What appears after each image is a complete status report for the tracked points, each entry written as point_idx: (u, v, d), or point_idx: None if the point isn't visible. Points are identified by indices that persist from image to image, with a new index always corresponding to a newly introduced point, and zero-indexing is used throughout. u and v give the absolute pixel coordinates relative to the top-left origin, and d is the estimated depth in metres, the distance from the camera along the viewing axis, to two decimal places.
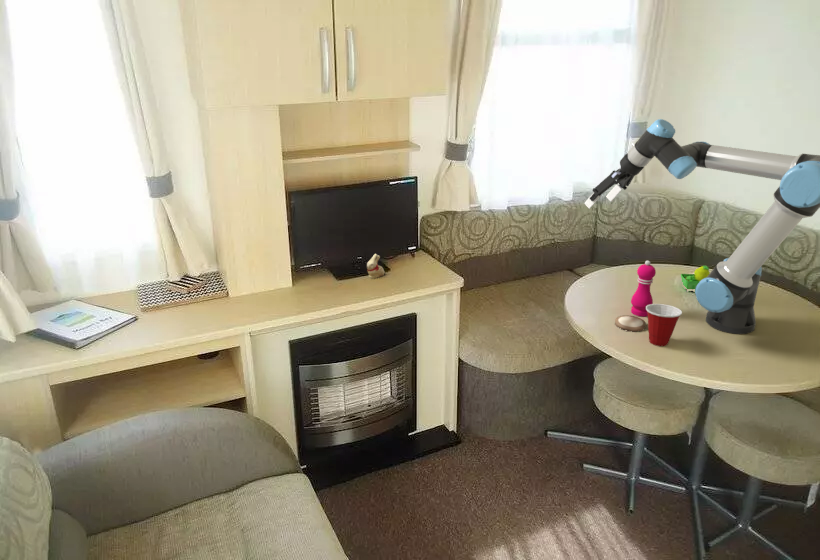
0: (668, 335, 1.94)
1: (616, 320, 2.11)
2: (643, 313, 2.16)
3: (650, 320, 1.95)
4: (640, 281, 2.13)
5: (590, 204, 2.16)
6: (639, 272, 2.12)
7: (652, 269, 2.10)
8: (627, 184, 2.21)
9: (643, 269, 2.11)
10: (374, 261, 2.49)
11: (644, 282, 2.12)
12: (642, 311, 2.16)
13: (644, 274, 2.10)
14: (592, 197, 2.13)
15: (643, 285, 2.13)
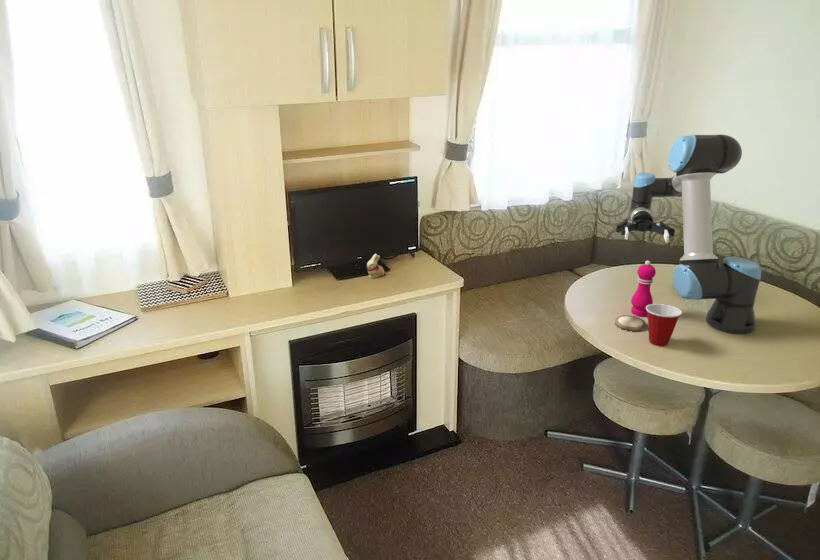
0: (668, 335, 1.94)
1: (616, 320, 2.11)
2: (643, 313, 2.16)
3: (650, 320, 1.95)
4: (640, 281, 2.13)
5: (625, 232, 2.21)
6: (639, 272, 2.12)
7: (652, 269, 2.10)
8: (670, 229, 2.23)
9: (643, 269, 2.11)
10: (374, 261, 2.49)
11: (644, 282, 2.12)
12: (642, 311, 2.16)
13: (644, 274, 2.10)
14: (621, 231, 2.24)
15: (643, 285, 2.13)
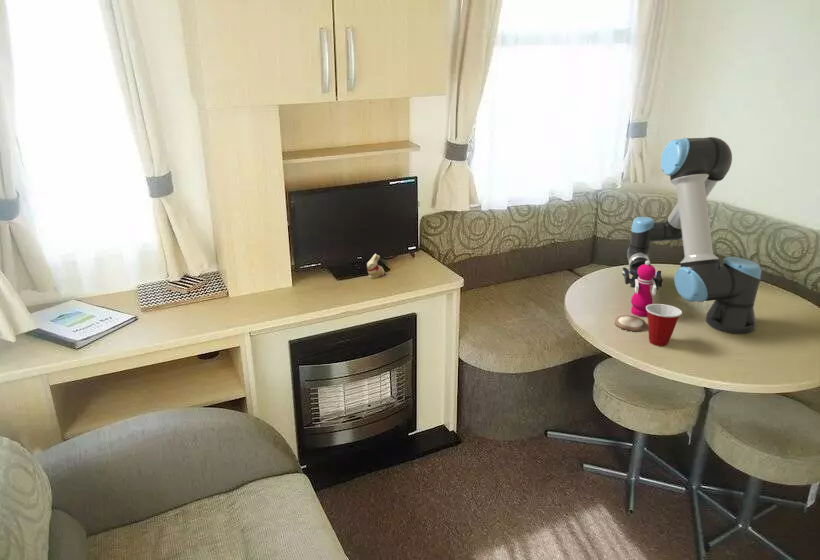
0: (668, 335, 1.94)
1: (616, 320, 2.11)
2: (643, 313, 2.16)
3: (650, 320, 1.95)
4: (640, 281, 2.13)
5: (635, 285, 2.12)
6: (639, 272, 2.12)
7: (652, 269, 2.10)
8: (658, 279, 2.16)
9: (643, 269, 2.11)
10: (374, 261, 2.49)
11: (644, 282, 2.12)
12: (642, 311, 2.16)
13: (644, 274, 2.10)
14: (631, 284, 2.15)
15: (643, 285, 2.13)
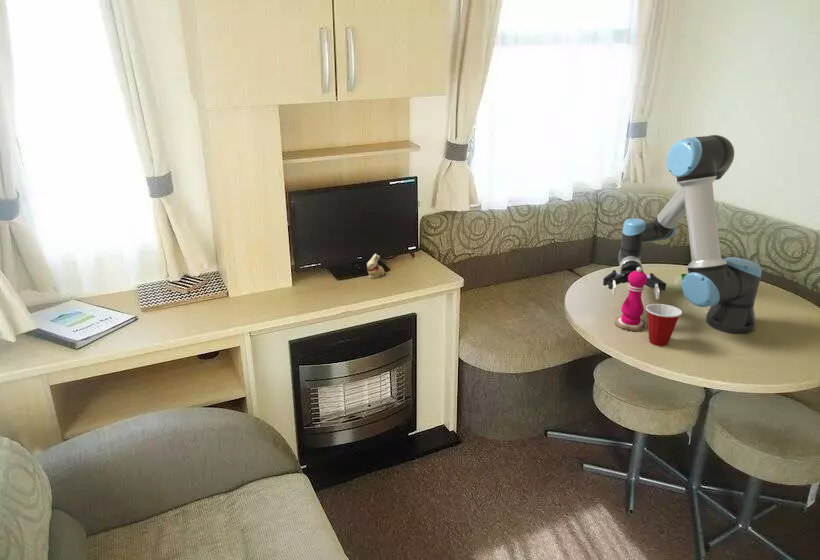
0: (668, 335, 1.94)
1: (616, 320, 2.11)
2: (633, 322, 2.07)
3: (650, 320, 1.95)
4: (631, 288, 2.04)
5: (613, 287, 2.05)
6: (630, 279, 2.03)
7: (644, 276, 2.01)
8: (661, 283, 2.07)
9: (634, 275, 2.02)
10: (374, 261, 2.49)
11: (635, 289, 2.03)
12: (633, 320, 2.07)
13: (635, 281, 2.01)
14: (609, 285, 2.09)
15: (634, 292, 2.04)
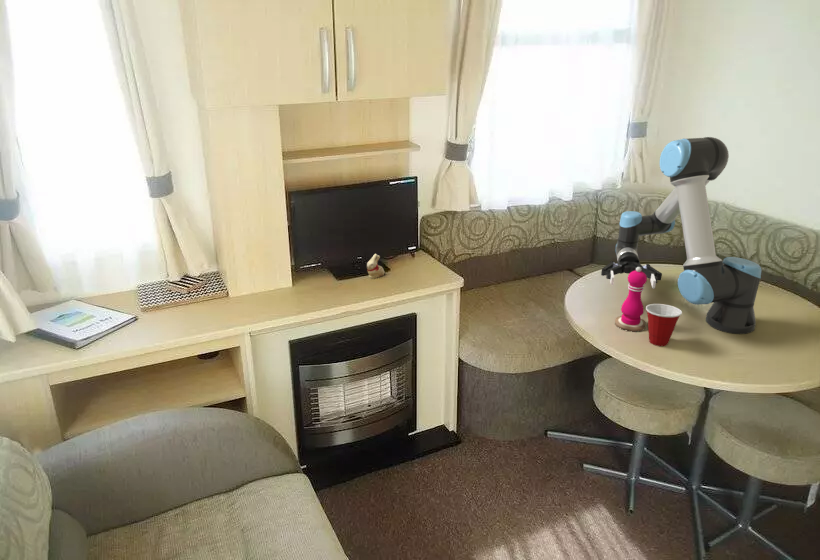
0: (668, 335, 1.94)
1: (616, 320, 2.11)
2: (633, 321, 2.07)
3: (650, 320, 1.95)
4: (630, 288, 2.04)
5: (611, 277, 2.13)
6: (629, 279, 2.03)
7: (643, 276, 2.01)
8: (657, 273, 2.15)
9: (634, 275, 2.02)
10: (374, 261, 2.49)
11: (634, 289, 2.03)
12: (633, 320, 2.07)
13: (635, 280, 2.02)
14: (607, 275, 2.16)
15: (634, 292, 2.04)
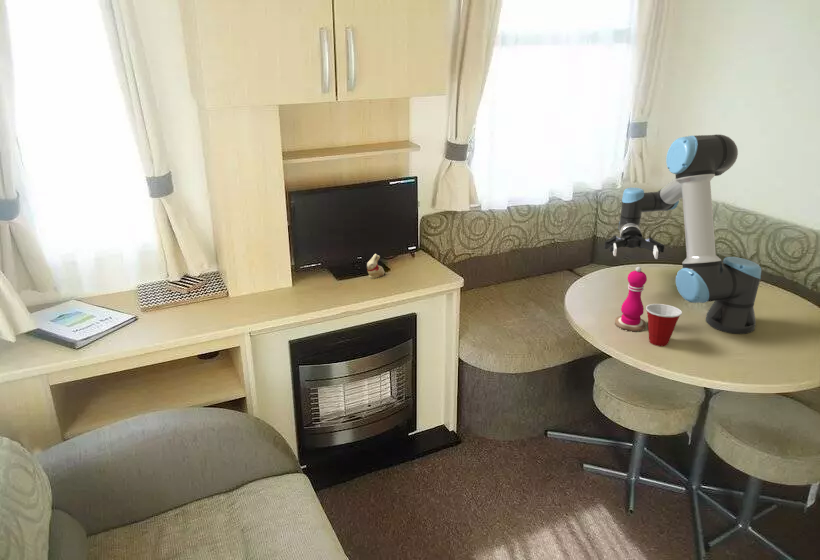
0: (668, 335, 1.94)
1: (616, 320, 2.11)
2: (633, 322, 2.07)
3: (650, 320, 1.95)
4: (630, 288, 2.04)
5: (614, 248, 2.15)
6: (629, 279, 2.03)
7: (643, 276, 2.01)
8: (660, 245, 2.17)
9: (634, 275, 2.02)
10: (374, 261, 2.49)
11: (634, 289, 2.03)
12: (633, 320, 2.07)
13: (634, 280, 2.02)
14: (610, 248, 2.18)
15: (633, 292, 2.04)
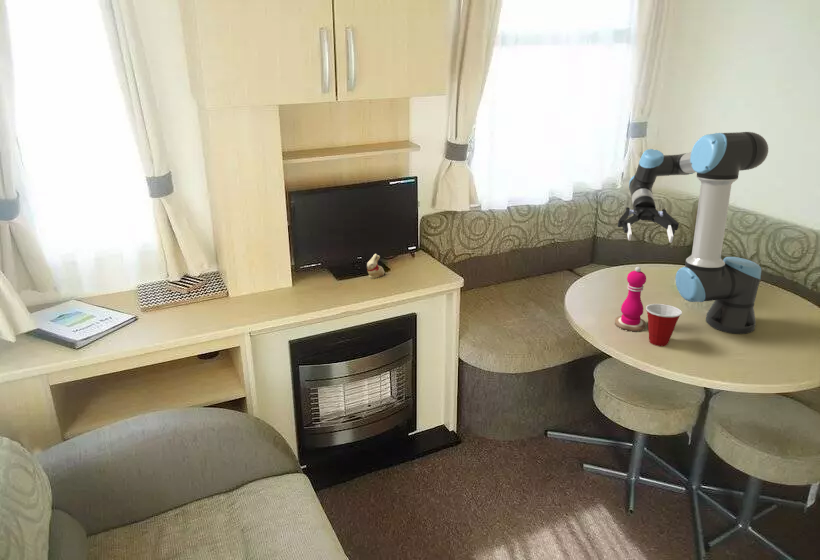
0: (668, 335, 1.94)
1: (616, 320, 2.11)
2: (633, 322, 2.07)
3: (650, 320, 1.95)
4: (630, 288, 2.04)
5: (628, 232, 2.12)
6: (628, 279, 2.03)
7: (642, 276, 2.01)
8: (674, 223, 2.14)
9: (633, 275, 2.02)
10: (374, 261, 2.49)
11: (634, 289, 2.03)
12: (633, 320, 2.07)
13: (634, 281, 2.02)
14: (624, 229, 2.15)
15: (633, 292, 2.04)
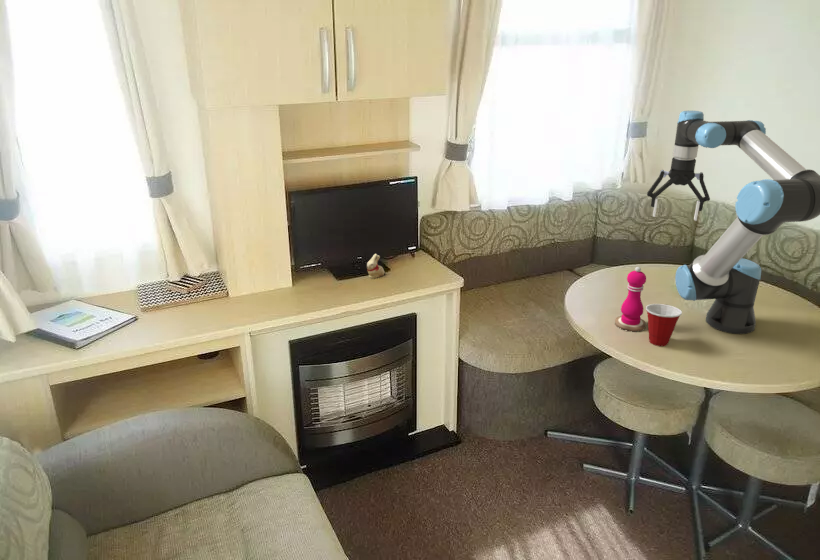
0: (668, 335, 1.94)
1: (616, 320, 2.11)
2: (633, 322, 2.07)
3: (650, 320, 1.95)
4: (630, 288, 2.04)
5: (653, 212, 2.18)
6: (628, 279, 2.03)
7: (642, 276, 2.01)
8: (705, 197, 2.10)
9: (633, 275, 2.02)
10: (374, 261, 2.49)
11: (634, 289, 2.03)
12: (633, 320, 2.07)
13: (634, 281, 2.02)
14: (651, 202, 2.18)
15: (633, 292, 2.04)
